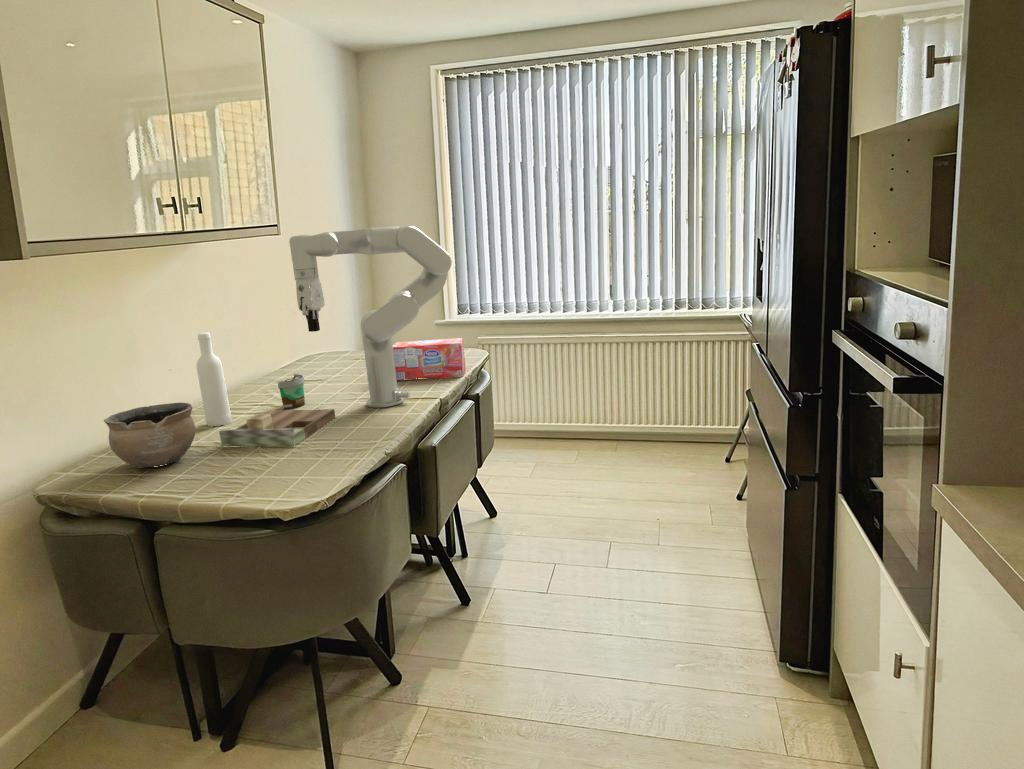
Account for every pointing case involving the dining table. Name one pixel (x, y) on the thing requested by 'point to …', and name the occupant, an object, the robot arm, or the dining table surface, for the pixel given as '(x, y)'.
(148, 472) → the dining table surface
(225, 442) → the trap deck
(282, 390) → the food container
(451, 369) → the box
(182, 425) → the ceramic bowl
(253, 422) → the maple block
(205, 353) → the bottle
